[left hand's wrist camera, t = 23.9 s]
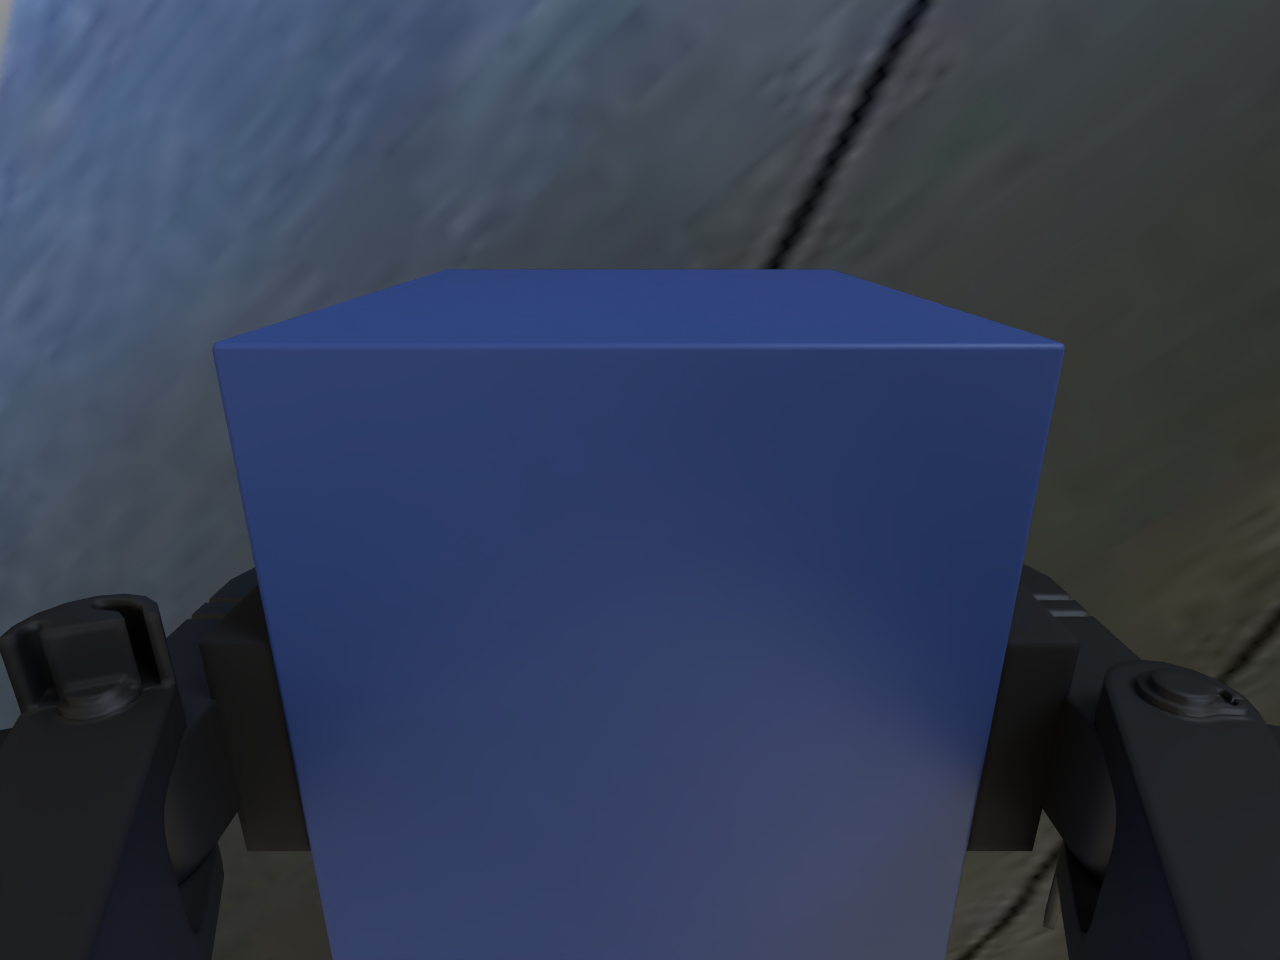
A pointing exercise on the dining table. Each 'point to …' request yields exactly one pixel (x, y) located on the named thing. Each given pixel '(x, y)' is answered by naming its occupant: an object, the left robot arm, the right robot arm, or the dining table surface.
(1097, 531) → the dining table surface
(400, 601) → the brick
